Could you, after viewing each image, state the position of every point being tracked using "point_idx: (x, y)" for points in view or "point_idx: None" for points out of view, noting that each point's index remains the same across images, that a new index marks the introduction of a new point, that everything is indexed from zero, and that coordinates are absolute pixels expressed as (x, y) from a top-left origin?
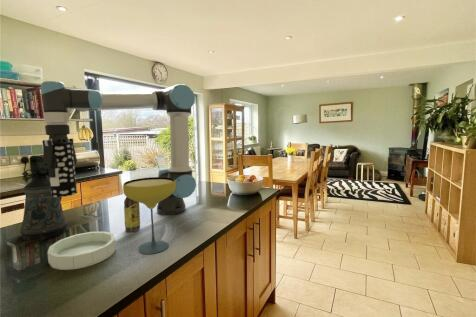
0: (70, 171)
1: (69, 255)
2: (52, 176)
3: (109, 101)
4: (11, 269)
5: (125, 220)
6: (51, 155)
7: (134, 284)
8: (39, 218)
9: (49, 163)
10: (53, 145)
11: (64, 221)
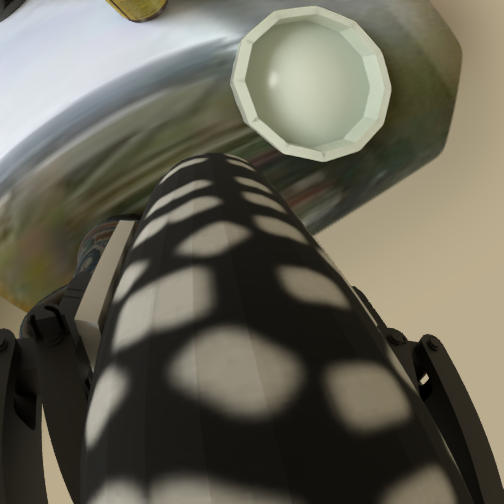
0: (285, 224)
1: (386, 96)
2: (360, 296)
3: None
4: (334, 212)
5: (152, 4)
6: (467, 424)
7: (426, 4)
8: None
9: (450, 361)
10: None
11: (111, 228)
